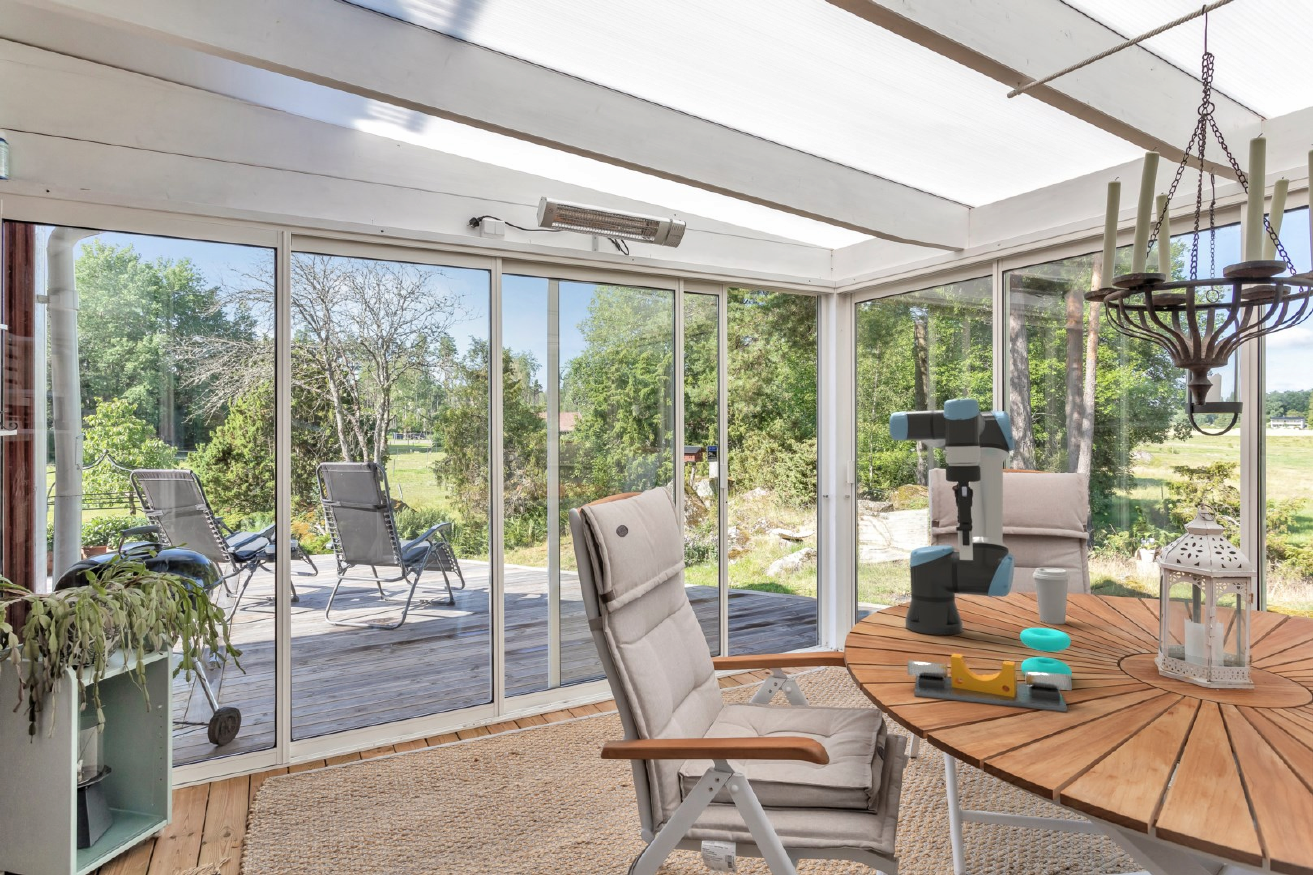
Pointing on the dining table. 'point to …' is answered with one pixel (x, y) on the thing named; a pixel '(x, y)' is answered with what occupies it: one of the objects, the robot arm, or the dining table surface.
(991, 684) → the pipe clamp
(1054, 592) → the coffee cup
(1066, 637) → the donuts
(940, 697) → the shaft stand
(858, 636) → the dining table surface
